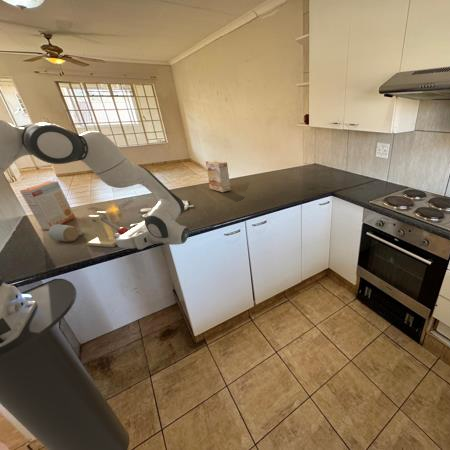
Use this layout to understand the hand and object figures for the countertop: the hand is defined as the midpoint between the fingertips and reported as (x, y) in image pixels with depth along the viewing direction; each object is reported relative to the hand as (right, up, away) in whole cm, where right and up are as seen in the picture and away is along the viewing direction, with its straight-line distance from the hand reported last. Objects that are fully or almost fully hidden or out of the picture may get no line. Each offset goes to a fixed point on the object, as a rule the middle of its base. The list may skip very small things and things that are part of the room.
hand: (123, 231), depth 109 cm
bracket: (-9, -5, +4) cm, 11 cm away
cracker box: (-48, +3, +20) cm, 52 cm away
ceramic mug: (-29, -4, +6) cm, 30 cm away
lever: (-6, +2, 0) cm, 6 cm away
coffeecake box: (+22, +28, +65) cm, 74 cm away
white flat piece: (0, +12, +36) cm, 38 cm away
